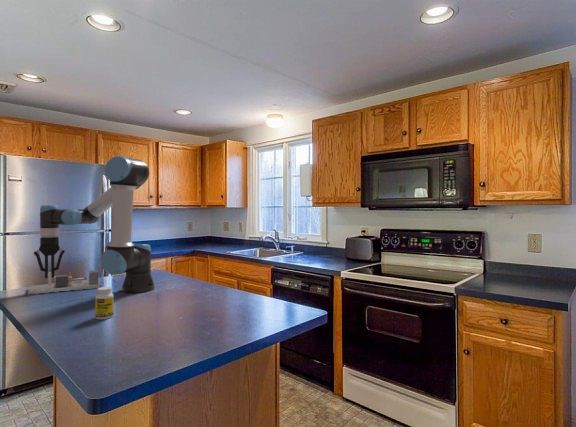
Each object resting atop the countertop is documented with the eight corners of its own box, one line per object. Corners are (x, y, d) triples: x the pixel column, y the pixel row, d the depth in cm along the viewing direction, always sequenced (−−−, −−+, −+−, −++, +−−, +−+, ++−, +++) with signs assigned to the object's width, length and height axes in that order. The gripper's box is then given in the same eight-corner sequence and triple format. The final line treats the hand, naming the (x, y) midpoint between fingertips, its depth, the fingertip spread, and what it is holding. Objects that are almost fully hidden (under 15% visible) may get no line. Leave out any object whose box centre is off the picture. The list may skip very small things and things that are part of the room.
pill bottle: (94, 320, 129) (94, 290, 129) (95, 316, 134) (95, 287, 134) (113, 318, 132) (113, 289, 131) (113, 314, 137) (113, 285, 137)
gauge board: (98, 283, 192) (98, 268, 192) (100, 287, 181) (100, 272, 181) (30, 289, 176) (30, 273, 176) (28, 295, 165) (28, 278, 165)
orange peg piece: (71, 281, 185) (71, 271, 185) (71, 282, 183) (71, 272, 182) (68, 281, 184) (68, 271, 184) (68, 282, 182) (68, 272, 182)
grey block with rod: (85, 280, 188) (85, 271, 188) (86, 284, 179) (86, 274, 179) (54, 283, 181) (54, 273, 181) (53, 287, 172) (53, 277, 172)
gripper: (65, 235, 180) (65, 281, 180) (33, 236, 173) (34, 284, 173) (65, 236, 173) (65, 284, 174) (32, 237, 166) (32, 287, 167)
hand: (49, 284), depth 173 cm, fingers closed
